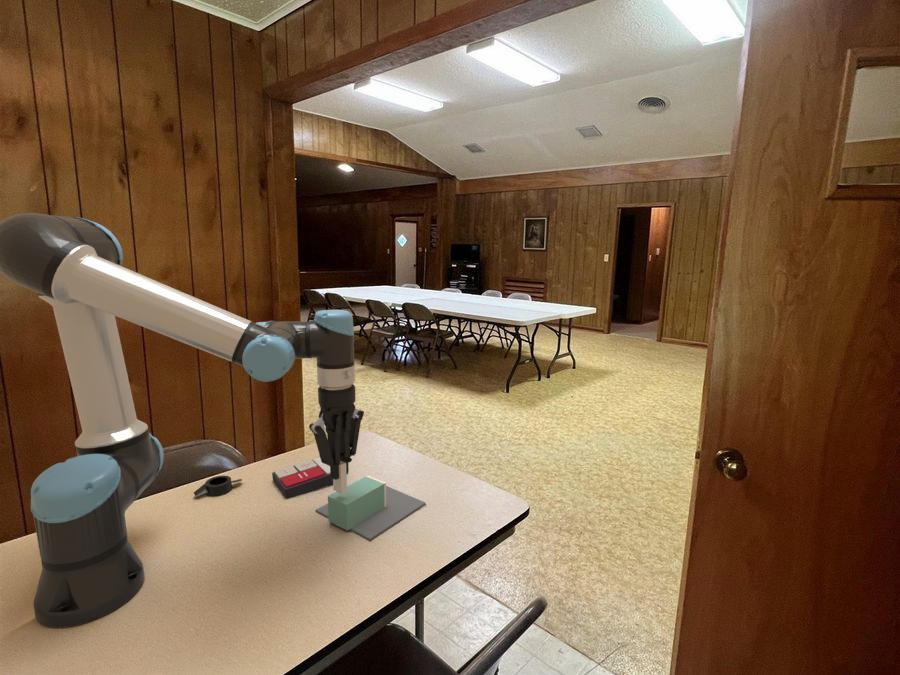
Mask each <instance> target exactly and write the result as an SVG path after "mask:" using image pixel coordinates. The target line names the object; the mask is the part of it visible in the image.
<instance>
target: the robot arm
mask: <svg viewBox="0 0 900 675" xmlns="http://www.w3.org/2000/svg"><path fill="white" fill-rule="evenodd" d="M123 260H124V253H123V249H122V246H121V244H120V241H119V240H118V238H117V237H116V236H115V235H114V234H113V233H112V231H110V230H109V229H108V228H106V227H105V226H103V225H102V224H99V223H98V222H95V221H93V220H89V219H85V218H84V217H83V218H82V217H80V216H79V217H78V216H64V215H52V214H45V213H36V212H26V213H25V212H24V213H18V214H14V215H11V216H9V217H8V216H7V217H6V218H5V219H3V220H2V221H0V274H2V276H4V277H5V278H6V279H8V280H9V281H11V282H13V283H14V284H17V285H19V286H21V287H23V288H25V289H26V290H27V289H28V290H31V291H32V292H35V293H37V294H38V298H39V299H40V300H43V301H45V302H46V303H47V304H49V305H50V306H52V310H53V314H54V317H55V321H56V326H57V330H58V335H59V339H60V342H61V347H62V350H63V355H64V360H65V363H66V368H67V371H68V372H67V373H68V376H69V380H70V385H71V388H72V393H73V396H74V401H75V405H76V409H77V413H78V418H79V422H80V426H81V431H82V432H81V433H80V435H79V436H78V437H77V438H76V439H75V441H74V446H75V450H76V455H77V456H74V457H70V458H67V459H66V460H65V461H64V462H58V463H55V464H53V465H51V466H50V467H48V468H47V469H45V470H43V471H42V472H41V473H40V474H39V475H38V476H37V477H36V479H35V480H34V481H33V483H32V485H31V488H30V498H31V499H30V512H31V513H32V516H33V521H34V522H33V523H34V527H35V528H34V529H35V532H36V538H37V545H38V550H39V556H40V562H41V571H40V576H39V579H38V584H37V588H36V591H35V596H34V599H33V610H34V616H35V620H36V621H37V623H39V624H41V625H42V626H45V627H49V628H67V627H73V626H77V625H82V624H85V623H89V622H92V621H94V620H96V619H99V618H101V617H104V616H106V615H108V614H110V613H112V612H113V611H115V610H117V609H118V608H120V607H122V606H124V605H125V604H126V603H127V602H129V601H130V600H131V599H132V598H133V597H135V596H136V594H138V592H139V591H140V589H141V588H142V586H143V584H144V583H145V570H144V569H145V568H144V564H143V562H142V559H140V557H139V555H138V554H137V552H136V551H135V549H134V547H133V546H132V545H131V543H130V541H129V538H128V531H127V523H126V511H127V509H129V507H130V506H131V505H132V504H133V503H134V502H135V501H136V500H137V499H138V498H139V497H140V496H141V495H142V493H143V492H144V491H145V490H146V489H147V488H148V487H149V486H151V484H152V483H153V481H155V479H156V478H157V477H158V474H159V473H160V471H161V469H162V467H163V463H164V457H165V456H164V453H165V452H164V448H163V446H162V444H161V441H159V439H158V438H157V437H155V436H153V435H152V433H151V432H150V430H149V426H148V424H147V423H146V422H144V421H142V420H139V419H138V418H137V413H136V409H135V402H134V399H133V394H132V389H131V386H130V381H129V380H130V379H129V376H128V371H127V367H126V363H125V362H126V361H125V357H124V353H123V349H122V343H121V338H120V333H119V330H118V329H119V328H118V325H117V320H116V317H118V318H120V319H122V320H125V321H127V322H130V323H133V324H135V325H137V326H140V327H143V328H145V329H149V331H150V330H151V331H153V332H156V333H158V334H161V335H163V336H166V337H168V338H171V339H173V340H176V341H178V342H180V343H183V344H186V345H189V346H191V347H194V348H196V349H198V350H201V351H204V352H206V353H209V354H212V355H214V356H216V357H219V358H221V359H225V360H226V361H229V362H232V363H233V364H236V365H239V366H241V367H243V369H244V370H245V372H246V373H247V374H248V375H249V376H250V377H251V378H253V379H255V380H256V381H260V382H266V383H267V382H273V381H276V380H279V379H281V378H282V377H284V375H285V374H287V373H288V372H289V370H291V369H292V368H293V366H294V364H295V360H298V359H299V360H300V359H301V360H302V359H316V372H317V373H316V375H317V376H316V378H317V379H316V380H317V382H316V383H317V385H318V388H317V400H318V405H319V408H320V410H319V413H318V419H317V420H316V421H315V422H314V423H310V424H309V425H308V427H309V430H310V431H311V432H312V433H313V436H314V439H315V443H316V447H317V451H318V454H319V457H320V458H321V462H322V463H324V464H326V465H329V466H330V473H331V474H330V476H331V478H333V485H332V486H333V487H332V488H333V489H332V490H333V491H334V492H339V493H341V494H342V493H344V492H346V491H347V486H348V482H347V480H348V478H347V477H348V476H347V475H348V474H349V463H351V462H352V460H353V458H352V457H354V456H356V454H357V450H358V449H357V447H358V442H359V436H360V428H361V422H362V420H363V418H364V415H365V412H364V410H361V409H357V408H356V405H355V402H356V401H357V400H356V386H355V382H356V376H355V375H356V373H355V372H356V369H355V364H356V363H355V330H354V328H355V327H354V318H353V315H352V313H351V312H350V311H349V310H346V309H345V310H344V309H329V310H328V309H322V310H318V311H316V312H315V313H314V319H313V320H307V321H300V320H299V321H296V320H295V321H287V320H285V321H275V320H269V321H259V322H253V321H252V320H249V319H247V318H244V317H242V316H240V315H237V314H235V313H232V312H231V311H228V310H226V309H223V308H222V307H219V306H216V305H214V304H212V303H209V302H207V301H206V300H205V301H204V300H202V299H200V298H197V297H195V296H193V295H191V294H187V293H186V292H182V291H181V290H179V289H175V287H174V288H173V287H171V286H169V285H166V284H164V283H162V282H160V281H157V280H154V279H152V278H150V277H148V276H146V275H143V274H141V273H139V272H137V271H135V270H134V271H133V270H131V269H129V268H126V267H124V266H122V265H123Z"/></svg>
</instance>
